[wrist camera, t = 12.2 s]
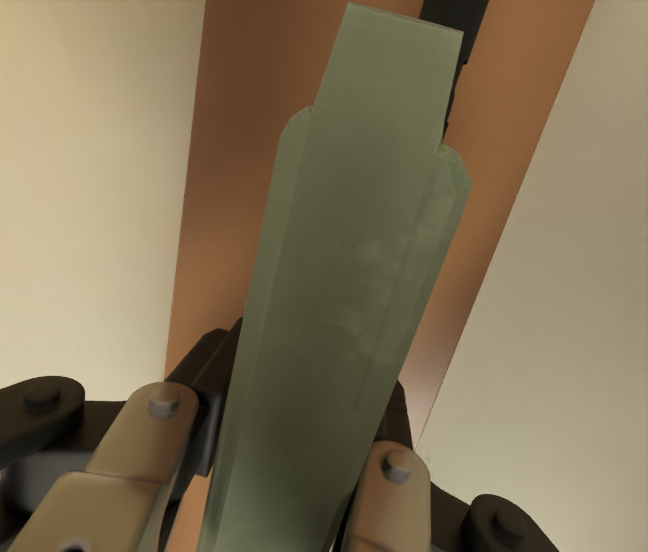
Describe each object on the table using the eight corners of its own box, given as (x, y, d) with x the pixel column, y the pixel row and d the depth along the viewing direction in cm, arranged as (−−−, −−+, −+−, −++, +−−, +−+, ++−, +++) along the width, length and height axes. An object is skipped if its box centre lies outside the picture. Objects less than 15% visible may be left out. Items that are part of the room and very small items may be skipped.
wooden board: (640, -137, 10) (657, -153, 10) (353, 594, 20) (352, 607, 20) (240, -229, 10) (233, -250, 10) (150, 538, 20) (144, 549, 20)
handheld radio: (237, 564, 18) (423, -150, 8) (304, 597, 17) (581, -127, 8) (132, 785, 12) (392, -954, 2) (231, 847, 11) (1098, -1094, 2)
